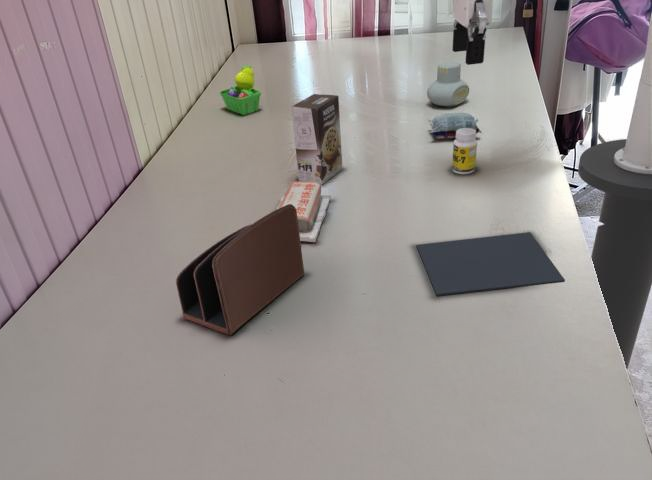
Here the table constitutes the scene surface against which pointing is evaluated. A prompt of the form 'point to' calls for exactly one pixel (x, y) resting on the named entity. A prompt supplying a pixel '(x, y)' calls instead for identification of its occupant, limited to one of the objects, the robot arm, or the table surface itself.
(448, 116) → the packaged food
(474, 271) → the mat
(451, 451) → the table surface
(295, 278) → the letter holder
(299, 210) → the packaged product
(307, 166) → the coffee box
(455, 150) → the supplement bottle
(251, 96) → the fruit basket
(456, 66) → the air freshener
